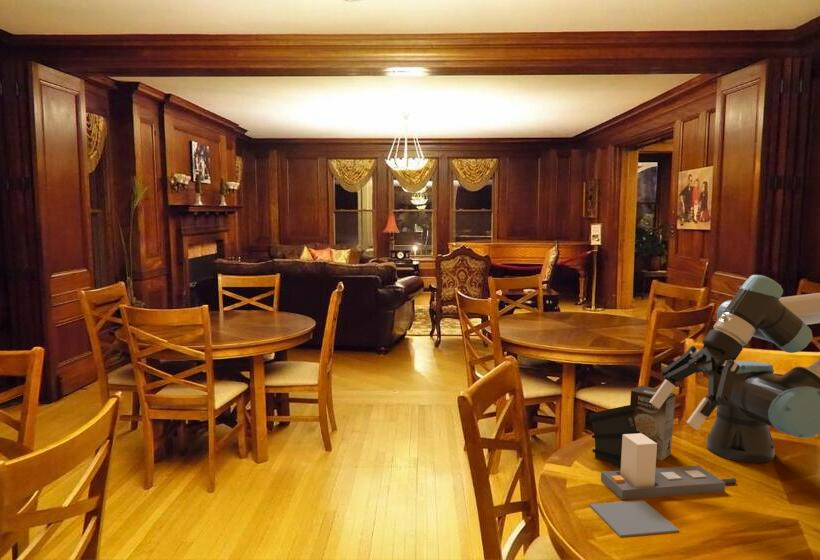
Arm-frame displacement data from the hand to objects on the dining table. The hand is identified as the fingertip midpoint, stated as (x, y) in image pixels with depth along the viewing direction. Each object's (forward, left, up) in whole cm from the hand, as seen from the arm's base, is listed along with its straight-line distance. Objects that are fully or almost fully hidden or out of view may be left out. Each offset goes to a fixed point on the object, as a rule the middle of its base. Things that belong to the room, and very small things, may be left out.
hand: (671, 415), depth 134 cm
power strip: (0, +3, -15) cm, 16 cm away
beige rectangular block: (+9, +3, -15) cm, 18 cm away
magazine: (+7, -11, -16) cm, 21 cm away
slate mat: (+17, +15, -15) cm, 27 cm away
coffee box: (-5, -15, -16) cm, 22 cm away
